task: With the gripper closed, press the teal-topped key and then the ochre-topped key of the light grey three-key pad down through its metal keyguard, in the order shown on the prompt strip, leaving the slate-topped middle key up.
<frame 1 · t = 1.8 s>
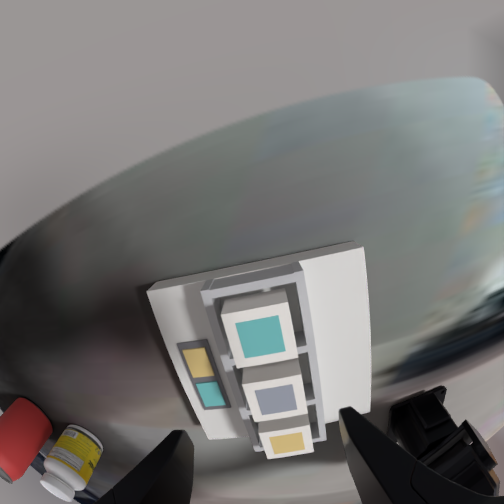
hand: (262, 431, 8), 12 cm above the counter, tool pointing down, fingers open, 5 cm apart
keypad: (273, 352, 21), on the counter
key 1: (261, 328, 15), point 5 cm above the counter, slide at 0.0 cm
beer can: (36, 413, 25), on the counter
key 2: (286, 433, 17), point 5 cm above the counter, slide at 0.0 cm
key mid: (275, 390, 16), point 5 cm above the counter, slide at 0.0 cm
supplement bottle: (86, 437, 25), on the counter
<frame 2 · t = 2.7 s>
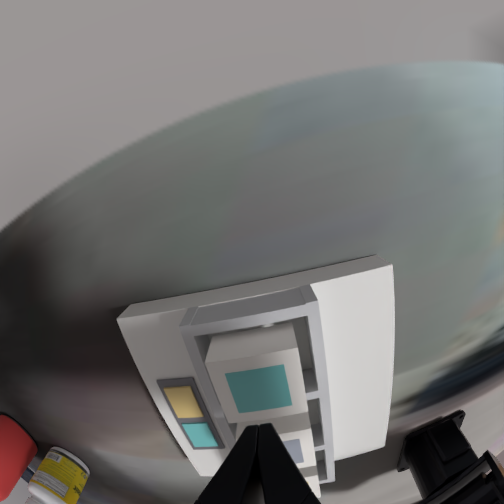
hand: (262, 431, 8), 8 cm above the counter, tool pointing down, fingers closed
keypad: (274, 387, 16), on the counter
key 1: (259, 375, 11), point 5 cm above the counter, slide at 0.0 cm
beer can: (20, 431, 21), on the counter
key 2: (289, 479, 13), point 5 cm above the counter, slide at 0.0 cm
key mid: (278, 440, 12), point 5 cm above the counter, slide at 0.0 cm
supplement bottle: (71, 459, 21), on the counter
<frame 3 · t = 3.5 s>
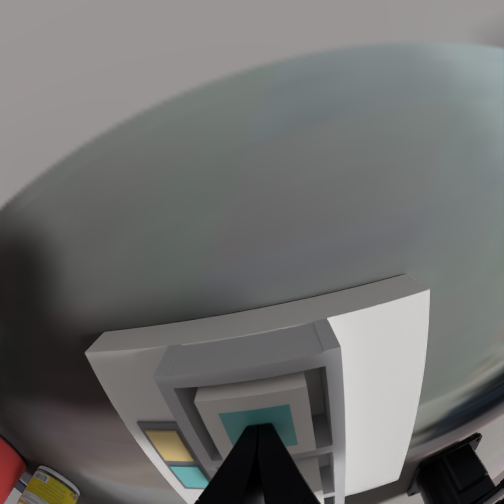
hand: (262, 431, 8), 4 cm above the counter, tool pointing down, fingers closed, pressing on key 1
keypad: (277, 426, 13), on the counter
key 1: (260, 411, 9), point 3 cm above the counter, slide at -1.3 cm, touching gripper
beer can: (8, 446, 17), on the counter
key mid: (281, 494, 9), point 5 cm above the counter, slide at 0.0 cm
supplement bottle: (60, 478, 17), on the counter
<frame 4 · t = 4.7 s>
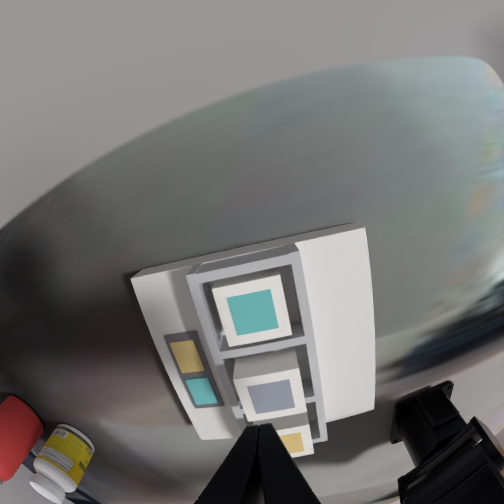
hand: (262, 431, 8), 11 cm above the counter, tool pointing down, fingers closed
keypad: (268, 345, 19), on the counter
key 1: (253, 305, 15), point 3 cm above the counter, slide at -1.4 cm
beer can: (27, 412, 23), on the counter
key 2: (284, 434, 16), point 5 cm above the counter, slide at 0.0 cm
key mid: (271, 386, 15), point 5 cm above the counter, slide at 0.0 cm
supplement bottle: (77, 437, 23), on the counter
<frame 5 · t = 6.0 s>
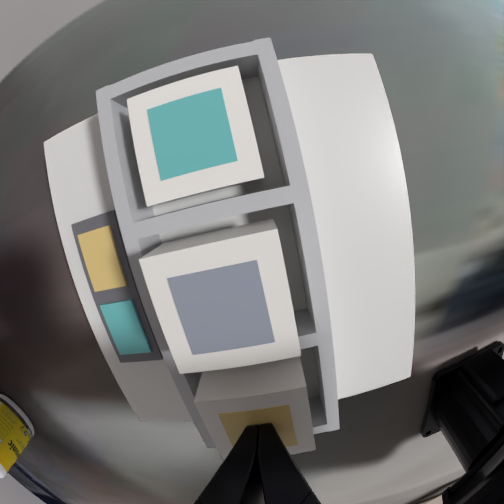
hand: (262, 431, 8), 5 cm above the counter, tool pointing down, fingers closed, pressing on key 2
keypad: (237, 256, 12), on the counter
key 1: (197, 138, 8), point 3 cm above the counter, slide at -1.4 cm
key 2: (260, 411, 9), point 4 cm above the counter, slide at -0.1 cm, touching gripper
key mid: (226, 296, 8), point 5 cm above the counter, slide at 0.0 cm
supplement bottle: (16, 413, 16), on the counter
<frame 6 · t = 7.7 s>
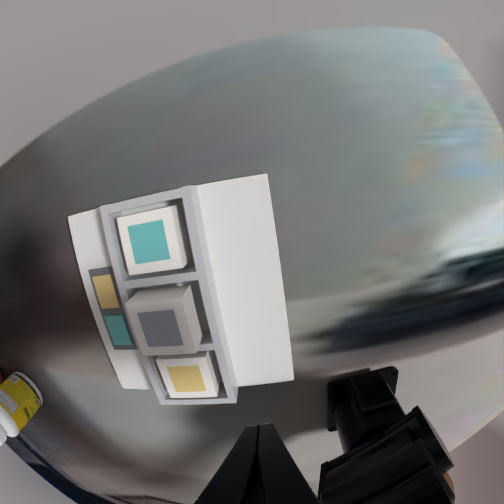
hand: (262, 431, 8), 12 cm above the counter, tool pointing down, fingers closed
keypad: (183, 293, 20), on the counter
key 1: (154, 239, 16), point 3 cm above the counter, slide at -1.4 cm
key 2: (189, 370, 18), point 3 cm above the counter, slide at -1.4 cm
key mid: (165, 321, 16), point 5 cm above the counter, slide at 0.0 cm
supplement bottle: (29, 387, 24), on the counter
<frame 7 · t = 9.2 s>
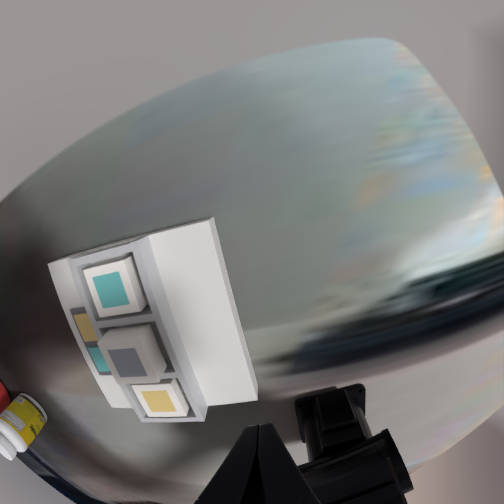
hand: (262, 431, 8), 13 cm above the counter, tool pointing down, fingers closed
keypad: (153, 325, 22), on the counter
key 1: (117, 285, 17), point 3 cm above the counter, slide at -1.4 cm
key 2: (162, 393, 19), point 3 cm above the counter, slide at -1.4 cm
key mid: (132, 355, 17), point 5 cm above the counter, slide at 0.0 cm
supplement bottle: (34, 406, 26), on the counter
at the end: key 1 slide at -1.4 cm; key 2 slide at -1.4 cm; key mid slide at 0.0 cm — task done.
